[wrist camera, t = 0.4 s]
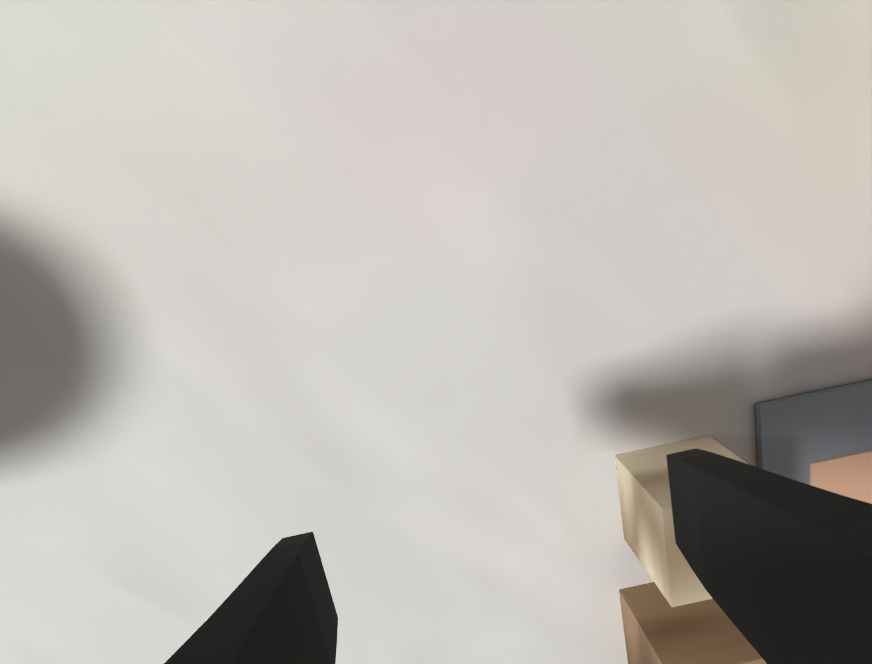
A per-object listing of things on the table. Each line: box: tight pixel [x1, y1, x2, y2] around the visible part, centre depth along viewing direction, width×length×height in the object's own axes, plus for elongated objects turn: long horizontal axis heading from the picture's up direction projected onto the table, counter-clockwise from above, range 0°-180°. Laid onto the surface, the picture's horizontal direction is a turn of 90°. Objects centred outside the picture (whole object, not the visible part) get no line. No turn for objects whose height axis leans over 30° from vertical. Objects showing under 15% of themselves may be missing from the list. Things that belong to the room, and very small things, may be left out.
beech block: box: [614, 435, 748, 607], centre depth 19 cm, size 4×4×4 cm
